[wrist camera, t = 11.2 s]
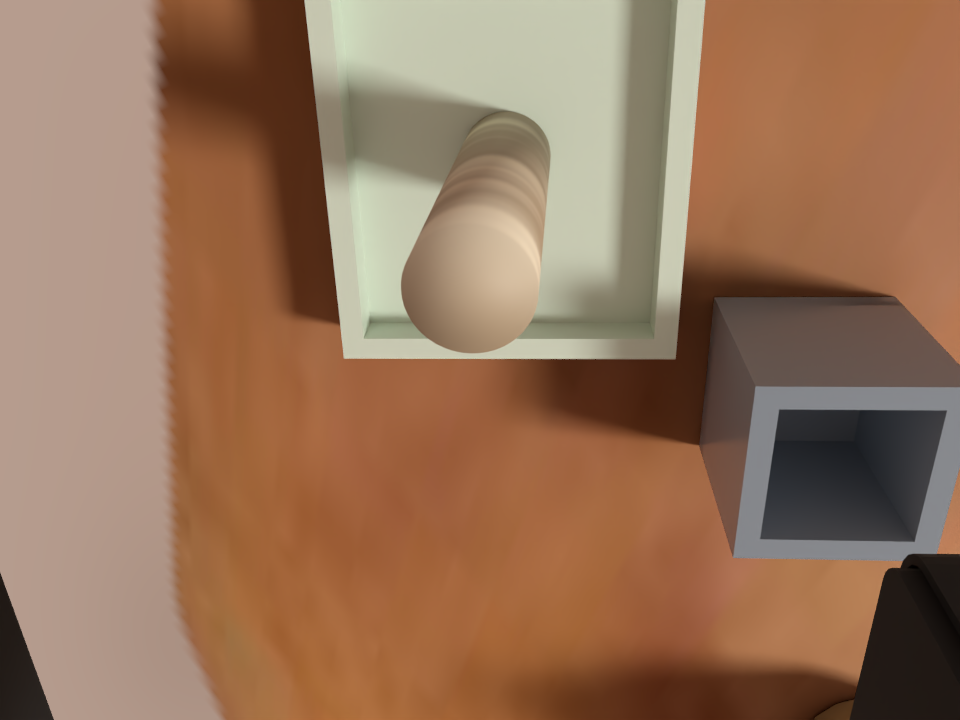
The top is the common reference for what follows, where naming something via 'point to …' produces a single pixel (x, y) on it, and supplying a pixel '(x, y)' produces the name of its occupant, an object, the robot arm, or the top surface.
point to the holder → (829, 428)
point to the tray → (573, 165)
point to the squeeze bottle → (837, 712)
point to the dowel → (483, 240)
